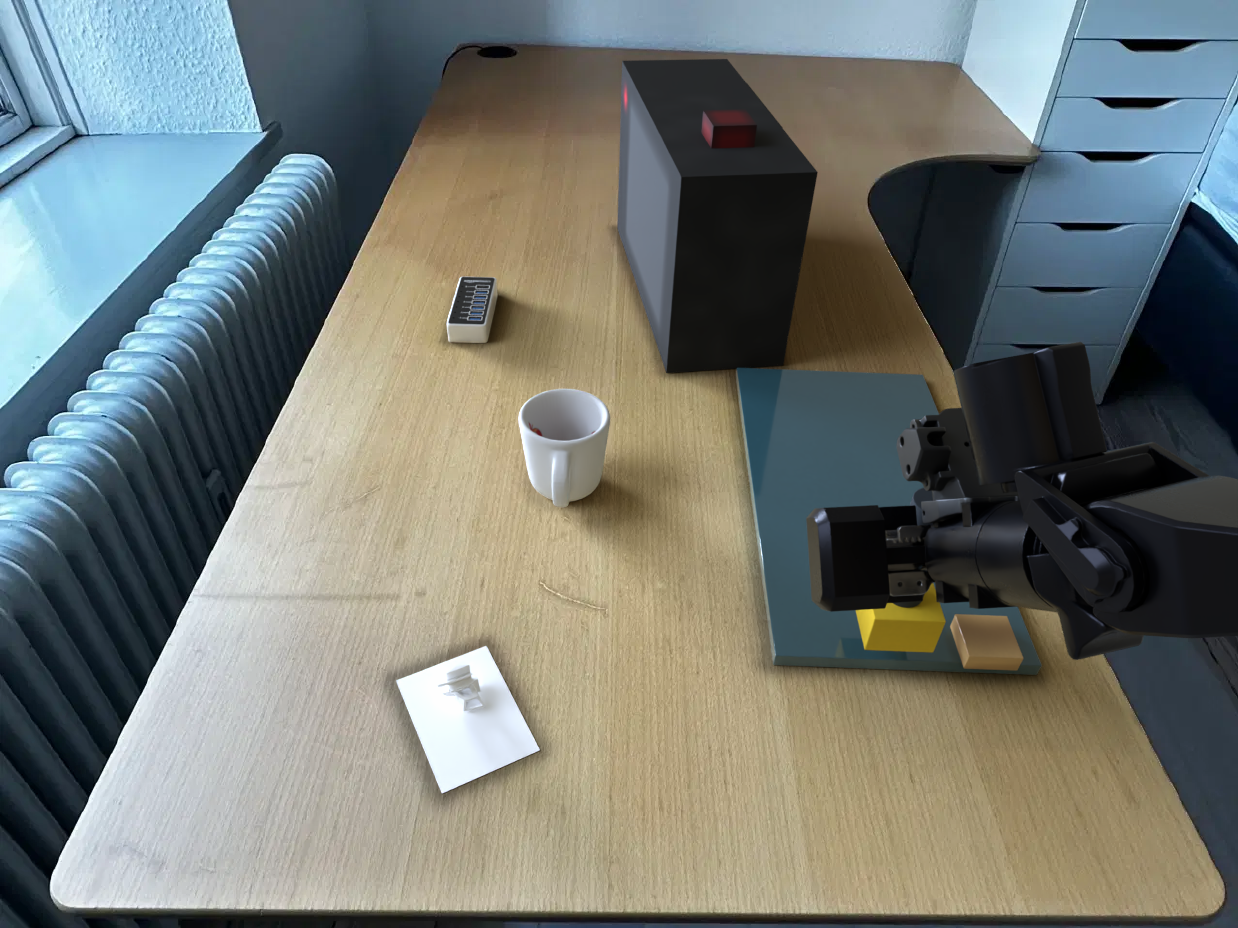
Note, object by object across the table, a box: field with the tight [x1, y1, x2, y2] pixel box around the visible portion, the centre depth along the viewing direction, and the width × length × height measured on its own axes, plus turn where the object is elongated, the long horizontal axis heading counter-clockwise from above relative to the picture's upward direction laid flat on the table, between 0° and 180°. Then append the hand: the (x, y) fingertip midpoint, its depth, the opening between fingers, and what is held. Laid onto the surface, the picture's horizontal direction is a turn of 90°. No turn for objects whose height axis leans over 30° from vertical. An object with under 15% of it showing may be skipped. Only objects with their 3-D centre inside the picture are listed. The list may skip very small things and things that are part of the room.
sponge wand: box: [856, 488, 946, 652], centre depth 62 cm, size 5×5×12 cm
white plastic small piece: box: [437, 664, 486, 712], centre depth 63 cm, size 3×3×3 cm
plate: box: [735, 367, 1043, 676], centre depth 81 cm, size 38×20×1 cm, turn 179°
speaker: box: [616, 58, 819, 374], centre depth 103 cm, size 15×35×24 cm, turn 9°
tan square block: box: [950, 614, 1023, 670], centre depth 67 cm, size 4×4×2 cm
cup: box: [518, 388, 611, 508], centre depth 79 cm, size 11×8×8 cm
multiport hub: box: [446, 276, 499, 344], centre depth 103 cm, size 4×11×2 cm, turn 0°
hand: (906, 549), depth 63 cm, fingers closed on sponge wand, 3 cm apart
